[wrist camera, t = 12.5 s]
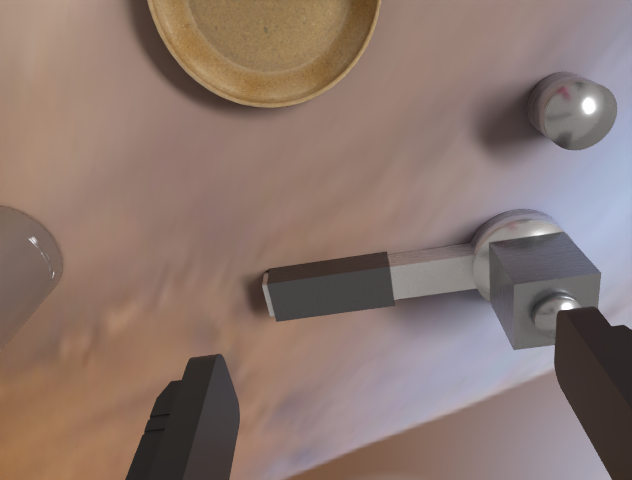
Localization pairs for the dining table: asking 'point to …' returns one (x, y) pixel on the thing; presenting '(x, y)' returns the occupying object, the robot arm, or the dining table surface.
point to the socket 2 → (539, 285)
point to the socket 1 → (571, 110)
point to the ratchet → (395, 272)
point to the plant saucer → (266, 45)
